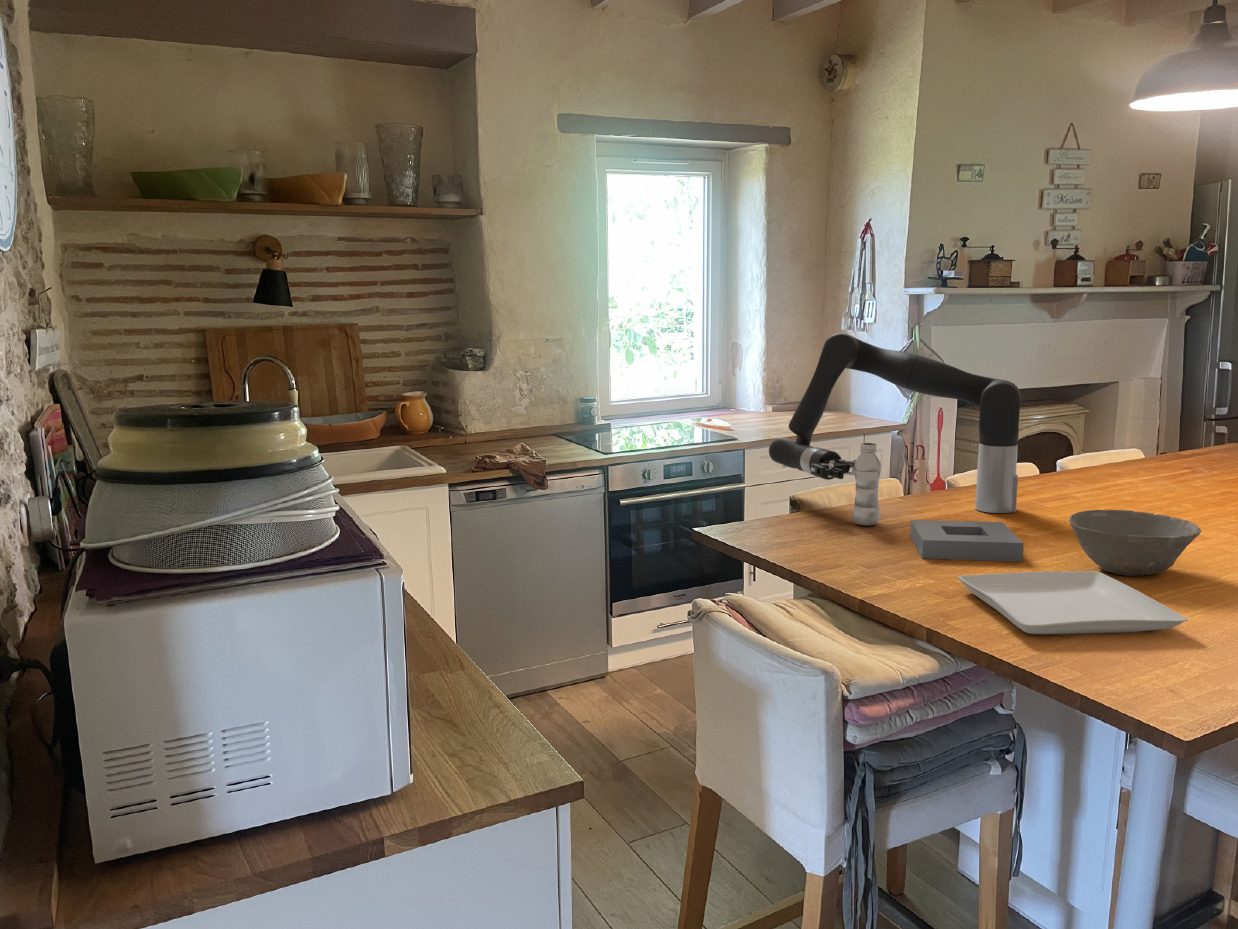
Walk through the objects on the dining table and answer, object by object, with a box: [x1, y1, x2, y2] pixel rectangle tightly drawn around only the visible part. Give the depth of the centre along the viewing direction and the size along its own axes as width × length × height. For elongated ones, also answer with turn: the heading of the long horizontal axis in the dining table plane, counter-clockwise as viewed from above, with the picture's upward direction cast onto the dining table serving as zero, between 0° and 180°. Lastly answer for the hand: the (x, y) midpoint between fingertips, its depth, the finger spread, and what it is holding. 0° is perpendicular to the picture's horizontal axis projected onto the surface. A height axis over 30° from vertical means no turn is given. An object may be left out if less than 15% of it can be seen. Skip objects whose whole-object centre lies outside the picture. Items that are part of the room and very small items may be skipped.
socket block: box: [909, 519, 1025, 562], centre depth 198 cm, size 20×18×4 cm
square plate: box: [957, 570, 1188, 635], centre depth 158 cm, size 27×27×4 cm
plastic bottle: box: [852, 442, 882, 527], centre depth 219 cm, size 6×7×20 cm
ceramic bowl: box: [1068, 509, 1202, 577], centre depth 180 cm, size 22×23×10 cm
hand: (857, 473), depth 222 cm, fingers open, 8 cm apart
